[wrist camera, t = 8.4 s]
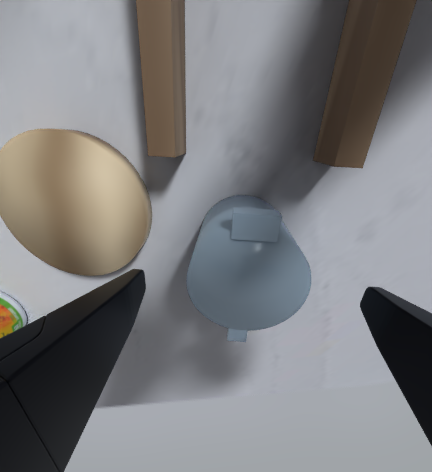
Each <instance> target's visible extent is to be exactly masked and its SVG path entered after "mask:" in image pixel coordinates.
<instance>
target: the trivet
mask: <svg viewBox="0 0 432 472" xmlns="http://www.w3.org/2000/svg"><path fill="white" fill-rule="evenodd" d="M0 215H1V217H2V219H3V221H4V223H5V224H6V226H7V227H8V229H9V230H10V232H11V233H12V234H13V235H14V237H15V238H16V239H17V240H18V241H19V242H20V243H21V244H22V245H23V246H24V247H25V248H26V249H27V250H28V251H30V252H31V253H32V254H33V255H35V256H36V257H38V258H39V259H40V260H42V261H44V262H45V263H47V264H49V265H51V266H53V267H55V268H58V269H60V270H63V271H66V272H69V273H73V274H78V275H86V276H96V275H104V274H108V273H111V272H114V271H117V270H118V269H120V268H122V267H124V266H125V265H126V264H128V263H129V262H130V261H131V260H132V259H133V258H134V256H135V255H136V254H137V253H138V251H139V250H140V249H141V248H142V246H143V245H144V243H145V242H146V240H147V238H148V235H149V232H150V229H151V223H152V208H151V201H150V198H149V194H148V191H147V189H146V186H145V184H144V182H143V180H142V179H141V177H140V175H139V173H138V172H137V171H136V169H135V168H134V166H133V165H132V164H131V163H130V162H129V161H128V160H127V158H126V157H125V156H123V155H122V154H121V153H120V152H119V151H118V150H117V149H115V148H114V147H112V146H111V145H110V144H108V143H107V142H105V141H103V140H101V139H99V138H97V137H95V136H92V135H90V134H87V133H84V132H80V131H74V130H65V129H36V130H30V131H26V132H24V133H21V134H19V135H17V136H15V137H14V138H12V139H10V140H9V141H8V142H7V143H6V144H5V145H4V146H3V147H2V149H1V150H0Z"/></svg>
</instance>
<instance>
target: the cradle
mask: <svg viewBox="0 0 432 472" xmlns="http://www.w3.org/2000/svg"><path fill="white" fill-rule="evenodd" d="M416 1H417V0H349V3H348V7H347V12H346V16H345V21H344V25H343V30H342V34H341V38H340V43H339V47H338V52H337V56H336V61H335V65H334V69H333V74H332V78H331V83H330V87H329V92H328V96H327V100H326V105H325V109H324V114H323V118H322V123H321V127H320V131H319V136H318V140H317V145H316V149H315V154H314V158H313V161H316V162H320V163H323V164H327V165H330V166H334V167H351V168H363V165H364V162H365V159H366V156H367V153H368V150H369V147H370V144H371V140H372V137H373V134H374V131H375V128H376V125H377V122H378V119H379V116H380V112H381V109H382V106H383V103H384V100H385V97H386V94H387V91H388V88H389V85H390V81H391V78H392V75H393V72H394V69H395V66H396V63H397V60H398V57H399V53H400V50H401V47H402V44H403V41H404V38H405V35H406V32H407V29H408V26H409V22H410V19H411V16H412V13H413V10H414V7H415V4H416ZM136 7H137V20H138V32H139V45H140V58H141V71H142V84H143V97H144V109H145V122H146V135H147V148H148V156H160V157H177V156H180V155H183V154H186V100H185V0H136Z"/></svg>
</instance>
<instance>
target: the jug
mask: <svg viewBox="0 0 432 472" xmlns="http://www.w3.org/2000/svg"><path fill="white" fill-rule="evenodd" d="M186 282H187V290H188V294H189V296H190V299H191V301H192V302H193V304H194V306H195V307H196V308H197V309H198V311H199V312H200V313H202V314H203V315H204V316H205V317H206V318H208V319H209V320H211V321H212V322H214V323H216V324H218V325H221V326H224V327H227V340H228V341H240V342H246V338H247V331H249V330H260V329H265V328H269V327H272V326H275V325H277V324H279V323H281V322H284V321H285V320H287V319H288V318H290V317H291V316H292V315H294V314H295V313H296V312H297V311H298V310H299V309H300V308H301V306H302V305H303V304H304V302H305V300H306V298H307V296H308V294H309V291H310V287H311V271H310V267H309V264H308V262H307V260H306V258H305V256H304V254H303V253H302V251H301V250H300V248H299V246H298V245H297V243H296V242H295V240H294V238H293V237H292V235H291V234H290V232H289V231H288V229H287V227H286V226H285V224H284V223H283V221H282V215H281V214H280V212H279V211H278V210H275V209H274V208H273V207H272V206H271V205H270V204H269V203H267V202H266V201H264V200H262V199H260V198H257V197H254V196H249V195H237V196H232V197H228V198H226V199H223V200H222V201H220V202H218V203H217V204H216V205H214V206H213V207H212V208H211V209H210V210H209V212H208V213H207V215H206V216H205V218H204V221H203V223H202V226H201V230H200V233H199V236H198V239H197V242H196V245H195V249H194V252H193V255H192V258H191V261H190V265H189V268H188V272H187V280H186Z"/></svg>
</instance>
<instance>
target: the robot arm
mask: <svg viewBox="0 0 432 472" xmlns="http://www.w3.org/2000/svg"><path fill="white" fill-rule="evenodd" d="M145 289H146V284H145V275H144V271H143V270H140V269H132V270H130V271H128V272H127V273H125V274H123V275H121V276H119V277H117V278H115V279H113V280H111V281H110V282H108V283H106V284H104V285H102V286H100V287H98V288H96V289H94V290H92V291H91V292H89V293H87V294H85V295H83V296H81V297H79V298H77V299H75V300H74V301H72V302H70V303H68V304H66V305H64V306H62V307H60V308H58V309H56V310H55V311H53V312H51V313H49V314H47V315H46V316H43V317H41V318H39V319H37V320H36V321H34V322H32V323H30V324H28V325H26V326H24V327H22V328H20V329H18V330H16V331H14V332H12V333H10V334H8V335H6V336H4V337H2V338H0V472H64V470H65V468H66V466H67V464H68V462H69V460H70V458H71V455H72V453H73V451H74V449H75V447H76V445H77V443H78V441H79V439H80V436H81V434H82V432H83V430H84V428H85V426H86V424H87V422H88V420H89V418H90V416H91V413H92V411H93V409H94V407H95V405H96V403H97V401H98V399H99V397H100V395H101V392H102V390H103V388H104V386H105V384H106V382H107V380H108V378H109V376H110V374H111V371H112V369H113V367H114V365H115V363H116V361H117V359H118V357H119V355H120V353H121V350H122V348H123V346H124V344H125V342H126V340H127V338H128V336H129V334H130V332H131V329H132V327H133V325H134V322H135V319H136V317H137V314H138V311H139V308H140V305H141V302H142V299H143V296H144V293H145ZM360 308H361V311H362V313H363V315H364V318H365V320H366V322H367V325H368V327H369V329H370V331H371V334H372V336H373V338H374V341H375V343H376V345H377V347H378V349H379V351H380V353H381V355H382V356H383V358H384V360H385V362H386V364H387V365H388V367H389V369H390V371H391V373H392V375H393V376H394V378H395V380H396V382H397V384H398V385H399V387H400V389H401V391H402V393H403V395H404V396H405V398H406V400H407V402H408V404H409V405H410V407H411V409H412V411H413V413H414V415H415V416H416V418H417V420H418V422H419V424H420V426H421V427H422V429H423V431H424V433H425V435H426V437H427V438H428V440H429V442H430V444H431V445H432V313H430V312H428V311H426V310H424V309H422V308H420V307H418V306H416V305H414V304H412V303H410V302H408V301H406V300H404V299H402V298H400V297H398V296H396V295H394V294H392V293H390V292H388V291H386V290H384V289H382V288H380V287H368V288H367V289H366V291H365V293H364V295H363V298H362V300H361V302H360Z"/></svg>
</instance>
